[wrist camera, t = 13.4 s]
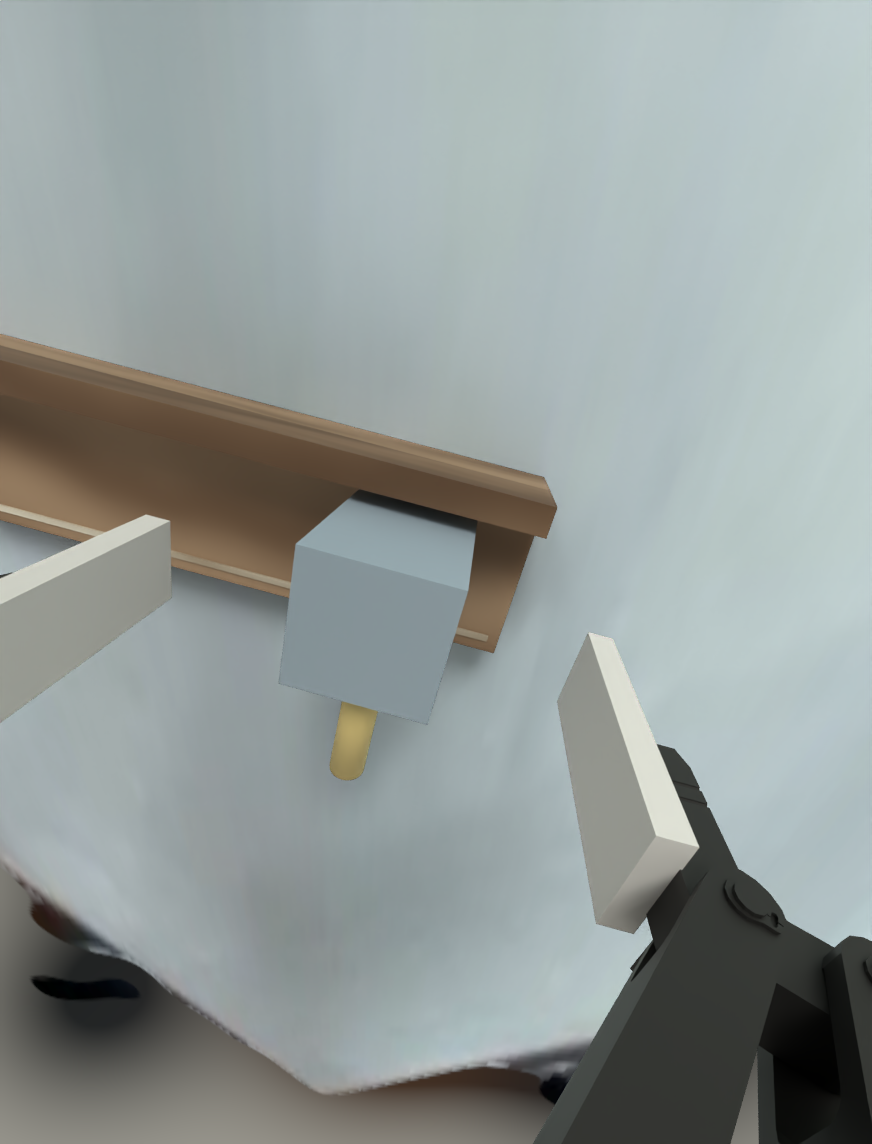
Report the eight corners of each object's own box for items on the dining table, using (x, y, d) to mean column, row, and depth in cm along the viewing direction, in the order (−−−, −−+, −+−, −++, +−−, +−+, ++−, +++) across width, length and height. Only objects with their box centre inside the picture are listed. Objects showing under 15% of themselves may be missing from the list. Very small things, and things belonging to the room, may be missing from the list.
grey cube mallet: (361, 486, 19) (295, 543, 13) (477, 518, 19) (468, 591, 13) (328, 675, 24) (265, 789, 17) (423, 702, 23) (396, 826, 17)
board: (-51, 320, 21) (-202, 306, 17) (544, 477, 21) (557, 507, 16) (-21, 488, 24) (-139, 515, 20) (493, 626, 24) (493, 686, 20)
